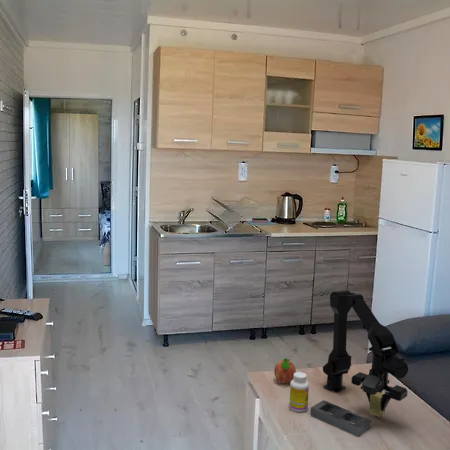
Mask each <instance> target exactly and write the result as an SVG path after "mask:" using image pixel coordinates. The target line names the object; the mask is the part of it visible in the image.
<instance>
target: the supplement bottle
mask: <svg viewBox="0 0 450 450" xmlns="http://www.w3.org/2000/svg"><path fill="white" fill-rule="evenodd" d="M293 378H294V379H293V380H292V381H291V382H290V383H289V384H290V385H289V403H288V404H289V406H288V407H289V408H290V410H291V411H293V412H296V413H304V412H306V411H307V410H308V408H309V407H308V406H309V389H310V386H309V385H310V384H309V382H308V381H307V378H308V377H307V374H306V373H304V372H301V371H298V372H297V371H296V373H294V376H293Z"/></svg>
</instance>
